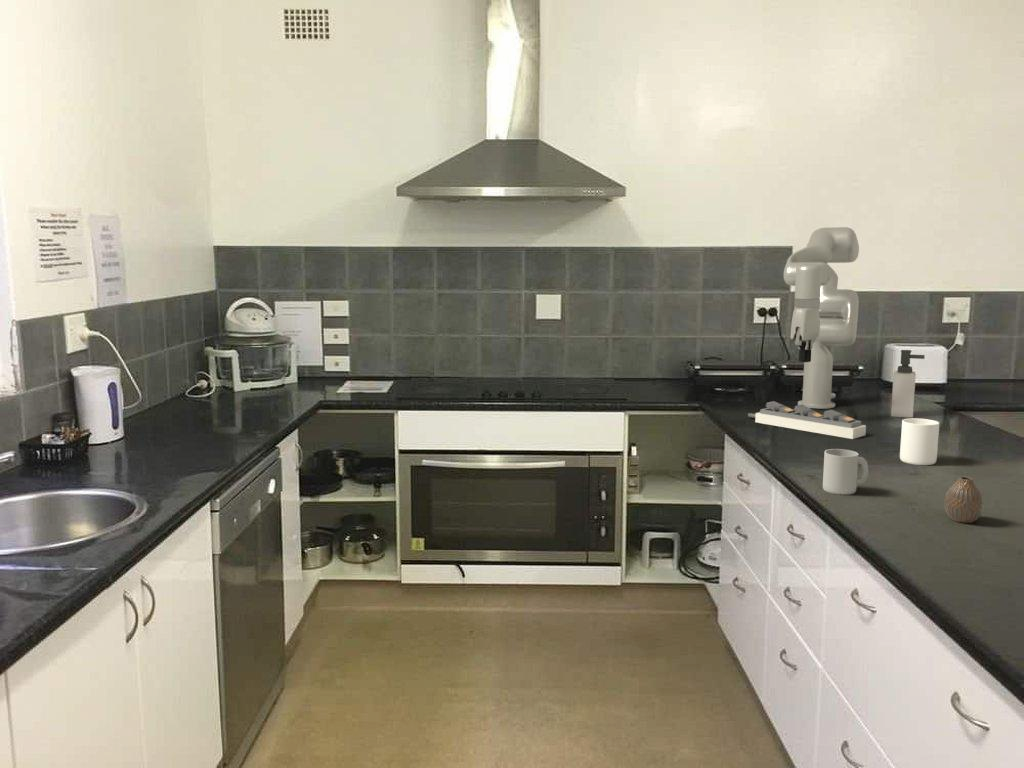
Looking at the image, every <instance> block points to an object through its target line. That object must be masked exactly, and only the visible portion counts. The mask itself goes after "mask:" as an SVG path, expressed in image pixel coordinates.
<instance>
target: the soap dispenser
mask: <svg viewBox="0 0 1024 768" xmlns="http://www.w3.org/2000/svg"><path fill="white" fill-rule="evenodd" d="M900 353H901V354H900V365H898V366H897V370H893V378H892V391H891V408H890V409H891V410H890V417H898V418H899V417H900V418H914V403H915V392H916V391H915V389H916V377H917V374H916V371H913V366H909V365H910V364H911V359H917V360H925V357H926V356H925V354H911V353H912V350H911V349H900Z"/></svg>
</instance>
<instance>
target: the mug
mask: <svg viewBox="0 0 1024 768" xmlns="http://www.w3.org/2000/svg"><path fill="white" fill-rule="evenodd" d="M939 432H940V422H939V421H937V420H933V419H927V418H920V417H919V418H914V417H913V418H910V417H908V418H904V419H902V420H901V436H900V445H899V447H900V449H899V459H900V461H902V462H903V463H906V464H908V465H914V466H932V465H934V464H936V463H937V459H938V445H939Z"/></svg>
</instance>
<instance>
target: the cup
mask: <svg viewBox="0 0 1024 768" xmlns="http://www.w3.org/2000/svg"><path fill="white" fill-rule="evenodd" d="M823 456H824V457H823V474H822V475H823V477H822V489H823V491H825V492H827V493H829V494H834V495H840V494H841V496H843V495H844V496H848V495H853V494H855V493H856V492H857V486H860V485H863V483H865V482H866V480H867V479H868V476H869V464H868V462H867V460H866V459H865V458H864V457H862V456H859V453H858V452H857V451H854V450H851V449H842V448H830V449H825V450H824V454H823ZM859 465H860V475H859V476H858V468H859Z"/></svg>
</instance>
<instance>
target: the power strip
mask: <svg viewBox="0 0 1024 768" xmlns="http://www.w3.org/2000/svg"><path fill="white" fill-rule="evenodd" d="M747 417H749V418H753V419H755V420H754V422H755V423H759V424H763V425H769V426H776V427H781V428H787V429H792V430H798V431H805V432H810V433H816V434H821V435H826V436H832V437H833V436H834V437H839V438H844V439H848V440H849V439H850V440H855V439H858V438H861V437H865V436H866V431H867V426H866V425H865V424H862V420H858V419H857V420H856V419H855V422H851V423H846V422H839V421H834V420H833V419H831V418H828V417H826V416H824V417H821V418H814V417H808V416H804V415H803V414H801V413H799V412H797V411H795V412H793V413H782V412H776V411H775V410H772V409H770V408H768V407H765V408H761V409H760V410H759V412H755V413H751V412H749V413H747Z"/></svg>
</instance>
